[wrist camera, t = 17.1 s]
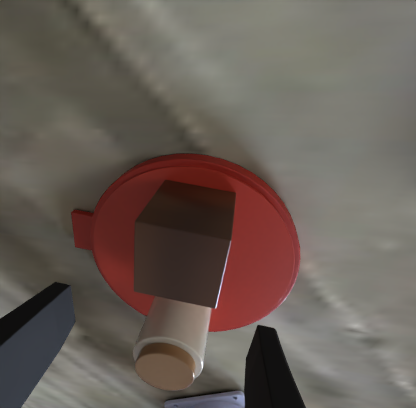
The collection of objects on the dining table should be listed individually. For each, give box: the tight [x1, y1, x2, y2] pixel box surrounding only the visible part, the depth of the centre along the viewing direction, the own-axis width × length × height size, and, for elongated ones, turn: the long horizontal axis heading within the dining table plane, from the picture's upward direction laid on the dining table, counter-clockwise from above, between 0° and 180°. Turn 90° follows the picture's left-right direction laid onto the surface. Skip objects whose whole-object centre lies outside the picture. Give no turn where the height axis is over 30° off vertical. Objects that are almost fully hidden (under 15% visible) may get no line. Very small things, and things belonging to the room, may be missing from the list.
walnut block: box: [134, 180, 236, 309], centre depth 15 cm, size 4×4×5 cm
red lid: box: [71, 154, 300, 332], centre depth 20 cm, size 17×15×1 cm
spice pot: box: [133, 296, 212, 391], centre depth 18 cm, size 4×4×6 cm
